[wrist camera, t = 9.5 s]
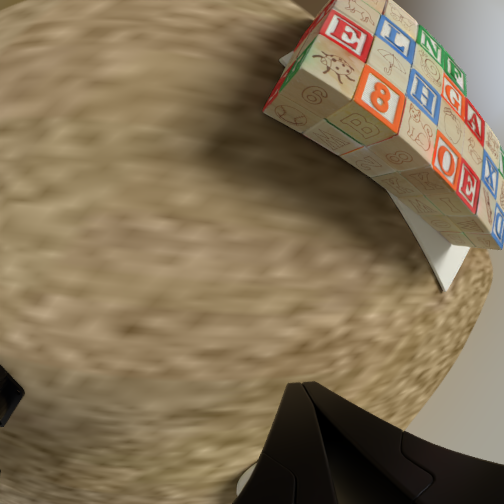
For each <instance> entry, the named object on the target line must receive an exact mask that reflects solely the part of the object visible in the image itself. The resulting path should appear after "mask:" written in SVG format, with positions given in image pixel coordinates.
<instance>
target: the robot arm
mask: <svg viewBox="0 0 504 504" xmlns="http://www.w3.org/2000/svg"><path fill="white" fill-rule="evenodd" d="M17 390H18V391H19V392H20V393H19V392H18V391H17ZM24 394H25V392H24V389H23V388H22V387H21V386H20V385H19V384H18V383H17V382H16V381H15V380H14V379H13V378H12V377H11V376H10V374H9V373H8V372H7V371H6V370H5V369H4V368H3V367H2V366H1V365H0V427H4V426H5V424H6V423H7V421H8V419H9V418H10V416H11V414H12V413H13V411H14V410H15V408H16V407H17V405H18V404H19V402H20V400H21V399H22V397H23V396H24ZM0 472H1V470H0ZM232 504H504V465H503V464H498V463H494V462H490V461H486V460H482V459H479V458H475V457H472V456H468V455H465V454H462V453H459V452H455V451H452V450H449V449H446V448H444V447H441V446H438V445H435V444H433V443H430V442H428V441H426V440H423V439H421V438H419V437H417V436H414V435H413V434H410V433H408V432H406V431H403V430H401V429H399V428H398V427H396V426H394V425H392V424H390V423H388V422H386V421H384V420H382V419H380V418H378V417H377V416H375V415H373V414H371V413H369V412H367V411H366V410H364V409H362V408H360V407H358V406H357V405H355V404H353V403H351V402H349V401H348V400H346V399H344V398H343V397H341V396H339V395H337V394H336V393H334V392H332V391H331V390H329V389H327V388H326V387H324V386H322V385H321V384H319V383H317V382H315V381H312V382H303V383H302V384H301V383H299V382H298V383H288V384H287V386H286V389H285V391H284V394H283V397H282V400H281V403H280V405H279V408H278V411H277V414H276V416H275V419H274V422H273V424H272V427H271V430H270V432H269V435H268V437H267V440H266V442H265V445H264V447H263V450H262V452H261V454H260V457H259V459H258V461H257V464H256V466H255V468H254V470H253V472H252V474H251V476H250V478H249V480H248V481H247V483H246V484H245V486H244V488H243V489H242V491H241V492H240V494H239V495H238V497H237V498H236V499H235V501H234V502H233V503H232Z"/></svg>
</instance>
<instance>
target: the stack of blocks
mask: <svg viewBox="0 0 504 504" xmlns="http://www.w3.org/2000/svg"><path fill="white" fill-rule="evenodd" d="M466 92H467V91H466V74H465V73H464V72H463V70H462V69H461V68H460V67H459V66H458V64H457V63H456V62H455V61H454V59H453V58H452V57H451V56H450V55H449V54H448V53H447V52H446V51H445V50H444V48H443V47H442V46H441V45H440V44H439V42H438V41H437V40H436V39H435V38H434V37H433V36H432V35H431V34H430V33H429V32H428V31H427V30H426V29H425V28H424V27H422V26H421V25H418V23H417V22H416V21H415V20H414V19H413V18H412V17H411V16H410V15H409V14H408V13H407V12H405V11H404V10H403V9H402V8H400V6H398V5H397V4H396V3H395V2H393V1H392V0H329V1H328V2H327V3H326V5H325V6H324V7H323V8H322V10H321V11H320V12H319V13H318V14H317V16H316V18H315V19H314V21H313V23H312V24H311V25H310V26H309V28H308V29H307V30H306V31H305V33H304V34H303V36H302V38H301V39H300V41H299V43H298V44H297V46H296V48H295V50H294V53H293V55H292V56H291V58H290V60H289V62H288V64H287V66H286V67H285V69H284V71H283V73H282V75H281V77H280V79H279V81H278V82H277V84H276V86H275V87H274V89H273V91H272V93H271V95H270V97H269V99H268V100H267V102H266V104H265V106H264V108H263V110H262V112H263V113H265V114H266V115H268V116H270V117H272V118H274V119H276V120H278V121H279V122H281V123H283V124H285V125H287V126H288V127H290V128H292V129H294V130H296V131H298V132H300V133H302V134H303V135H304V136H306V137H308V138H309V139H311V140H313V141H315V142H316V143H318V144H319V145H321V146H323V147H324V148H326V149H328V150H329V151H331V152H333V153H334V154H336V155H339V156H340V157H341V158H342V159H344V160H345V161H347V162H348V163H350V164H351V165H353V166H354V167H356V168H357V169H359V170H360V171H362V172H363V173H365V174H366V175H367V176H369V177H371V178H372V179H373V180H374V181H375V182H377V183H378V184H380V185H381V186H382V187H384V188H385V189H386V190H388V191H389V192H390V193H392V194H393V195H394V196H396V197H397V198H398V200H400V201H401V202H402V203H404V204H405V205H406V206H407V207H409V208H410V209H411V210H412V211H414V212H415V213H416V214H418V215H420V217H421V218H422V219H423V220H424V221H426V222H427V223H428V224H429V225H430V226H431V227H433V228H434V229H435V230H436V231H439V233H440V234H441V235H443V236H444V237H445V238H446V239H447V240H448V241H449V242H450V243H451V244H452V245H455V246H466V247H477V248H486V249H496V250H502V248H503V242H504V150H503V149H502V147H501V146H500V143H499V141H498V139H497V138H496V136H495V135H494V133H493V132H492V130H491V129H490V127H489V126H488V125H487V123H486V122H485V121H484V120H483V118H482V117H481V116H480V114H479V113H478V112H477V110H476V109H475V108H474V106H473V105H472V104H471V102H470V101H469V100H468V99H467V95H466V94H467V93H466Z"/></svg>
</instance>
